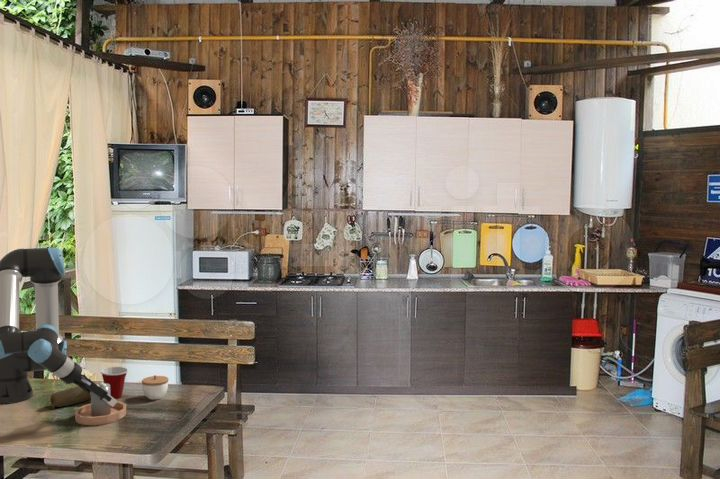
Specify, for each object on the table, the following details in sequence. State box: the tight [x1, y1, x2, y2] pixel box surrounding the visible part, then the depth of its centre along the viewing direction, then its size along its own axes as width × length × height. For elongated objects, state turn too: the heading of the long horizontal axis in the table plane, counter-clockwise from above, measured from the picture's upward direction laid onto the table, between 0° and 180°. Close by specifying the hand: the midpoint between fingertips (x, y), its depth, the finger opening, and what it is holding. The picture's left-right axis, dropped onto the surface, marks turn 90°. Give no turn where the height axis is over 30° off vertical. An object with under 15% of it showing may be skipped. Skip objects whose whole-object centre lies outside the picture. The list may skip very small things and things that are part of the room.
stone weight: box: [49, 386, 91, 408], centre depth 243 cm, size 15×7×7 cm, turn 139°
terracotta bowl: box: [74, 400, 127, 426], centre depth 230 cm, size 18×18×3 cm
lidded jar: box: [141, 374, 169, 401], centre depth 252 cm, size 11×11×9 cm
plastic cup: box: [100, 366, 129, 400], centre depth 252 cm, size 11×11×12 cm
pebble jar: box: [90, 381, 111, 417], centre depth 229 cm, size 7×7×12 cm
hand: (109, 401), depth 232 cm, fingers open, 7 cm apart
